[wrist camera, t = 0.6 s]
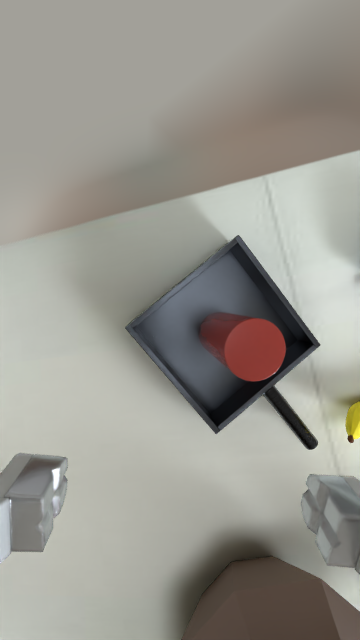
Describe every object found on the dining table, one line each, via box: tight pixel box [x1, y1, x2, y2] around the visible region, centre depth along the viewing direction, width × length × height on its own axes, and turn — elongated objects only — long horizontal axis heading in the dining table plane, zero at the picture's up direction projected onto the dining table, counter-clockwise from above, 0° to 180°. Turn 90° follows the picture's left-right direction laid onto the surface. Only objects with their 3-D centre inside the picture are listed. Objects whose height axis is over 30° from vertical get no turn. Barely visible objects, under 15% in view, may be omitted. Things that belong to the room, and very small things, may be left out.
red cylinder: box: [199, 312, 286, 381], centre depth 26 cm, size 5×5×11 cm
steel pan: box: [125, 235, 320, 450], centre depth 31 cm, size 24×15×4 cm, turn 39°
